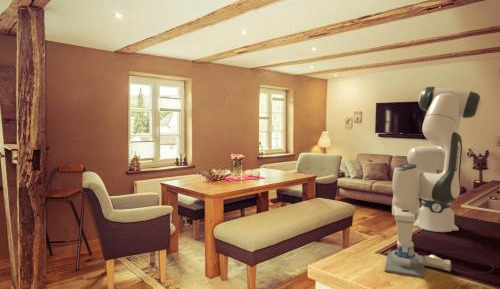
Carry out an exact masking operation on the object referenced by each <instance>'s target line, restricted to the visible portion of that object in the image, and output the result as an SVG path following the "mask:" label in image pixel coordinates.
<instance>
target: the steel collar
mask: <svg viewBox="0 0 500 289" xmlns="http://www.w3.org/2000/svg"><path fill="white" fill-rule="evenodd" d="M391 252H392V255H391V262H392V263H394V264H396V265H398V266H401V267H408V268H412V267H417V266H418V255H419V253H417V252H414V257H412V258H404V257H399V256H397V249H395V250H392V251H391Z"/></svg>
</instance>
